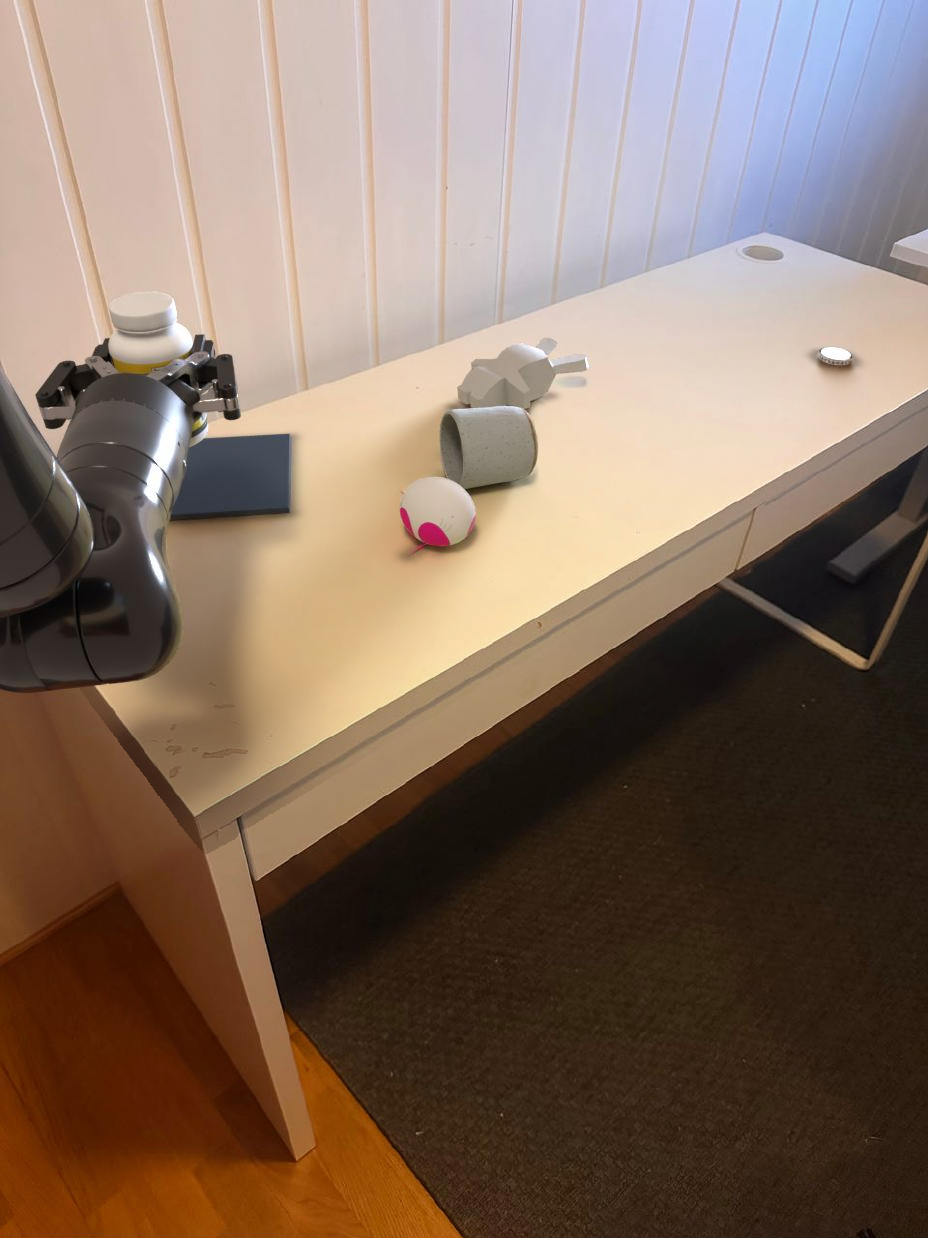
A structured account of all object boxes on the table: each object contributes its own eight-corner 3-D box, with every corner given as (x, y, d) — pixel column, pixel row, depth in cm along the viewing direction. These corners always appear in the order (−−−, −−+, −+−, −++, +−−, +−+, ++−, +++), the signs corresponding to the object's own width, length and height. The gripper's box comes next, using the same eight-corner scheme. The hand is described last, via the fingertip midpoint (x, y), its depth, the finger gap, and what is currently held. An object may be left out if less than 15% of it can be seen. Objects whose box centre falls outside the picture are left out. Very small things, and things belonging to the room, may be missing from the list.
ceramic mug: (540, 490, 88) (545, 419, 83) (462, 505, 86) (463, 433, 81) (499, 440, 96) (502, 372, 91) (427, 452, 93) (426, 384, 88)
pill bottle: (119, 432, 73) (83, 299, 66) (188, 410, 76) (161, 280, 69) (151, 463, 70) (118, 326, 63) (223, 439, 73) (199, 305, 66)
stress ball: (397, 558, 85) (362, 527, 79) (443, 489, 86) (412, 453, 80) (455, 590, 81) (423, 560, 75) (503, 518, 82) (475, 482, 76)
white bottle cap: (855, 365, 110) (857, 360, 110) (822, 364, 110) (824, 359, 110) (845, 351, 113) (847, 346, 113) (813, 350, 113) (815, 345, 113)
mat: (137, 522, 83) (135, 517, 83) (155, 445, 93) (154, 440, 93) (289, 512, 85) (288, 507, 84) (290, 438, 95) (289, 433, 95)
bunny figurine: (440, 364, 100) (541, 317, 106) (444, 404, 103) (542, 356, 109) (494, 396, 94) (597, 345, 100) (496, 437, 98) (596, 385, 104)
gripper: (228, 396, 56) (243, 296, 69) (-10, 408, 55) (49, 303, 67) (246, 497, 61) (257, 386, 74) (27, 510, 60) (76, 395, 72)
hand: (158, 347), depth 71 cm, fingers closed on pill bottle, 6 cm apart
